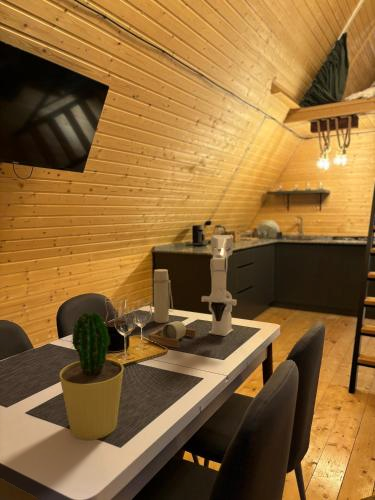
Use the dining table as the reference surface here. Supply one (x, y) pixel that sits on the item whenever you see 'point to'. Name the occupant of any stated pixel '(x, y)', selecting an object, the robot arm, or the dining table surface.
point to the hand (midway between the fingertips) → (218, 320)
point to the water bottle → (161, 296)
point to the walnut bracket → (169, 341)
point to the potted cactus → (91, 381)
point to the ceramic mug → (173, 330)
